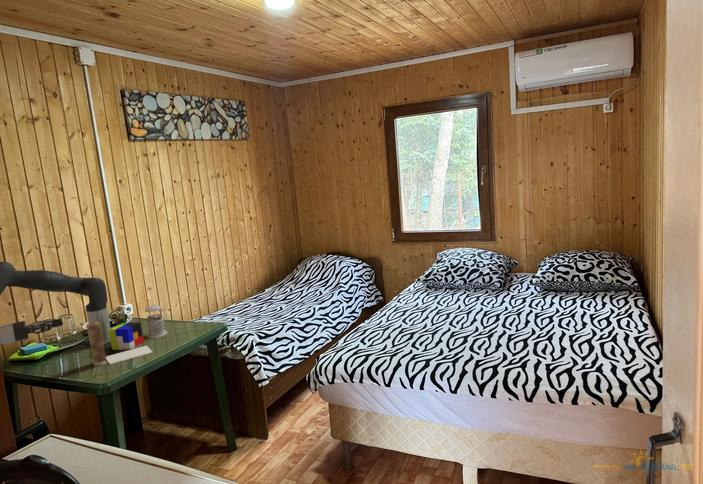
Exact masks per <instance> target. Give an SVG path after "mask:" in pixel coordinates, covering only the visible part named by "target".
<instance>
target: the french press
mask: <svg viewBox="0 0 703 484" xmlns="http://www.w3.org/2000/svg"><path fill="white" fill-rule="evenodd" d="M147 289H148V290H149V291H150V294H152V291H151V290H153V287H151V286H150V287H147ZM152 298H153V297H152V295H150V299H151V300H153V299H152ZM156 311H159V312H160V313H158V314H157V313H156V314H155V313H154V312H156ZM144 312H146V313H152V312H153V314H151V315H149V316H147V317H146V324H147V330H148V334H147V336H146V337H147V338H149V339H153V338H160V337H163V336H165V335H167V334H168V331H166V329H165V322H166V321H167V319H168V314H167V311H166V309H163V307H162V306H161V305H154V304H153V301H151V305H149V306H148V307H146V308H145V309H144ZM161 312H163V314H164V315H163V316H162V314H161ZM166 333H167V334H166Z"/></svg>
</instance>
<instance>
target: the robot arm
mask: <svg viewBox="0 0 703 484" xmlns="http://www.w3.org/2000/svg"><path fill="white" fill-rule="evenodd" d="M7 287H10V288H11V287H15V288H21V289H27V290H28V289H29V290H35V291H42V292H50V293H63V292H65V293H74V294H79V295H80V296H81V295H82V296H85V297H88V303H87V304H86V305H85V313H86V318H87V324H89V323H93V322H97V321H98V322H99V324H100V328H101V334H102V339H103V345H105V344H108V343H111V340H110V334H109V329H111V322H110V318H109V312H108V308H107V307H108V306H107V304H108V294H107V286H106V282H105V281H104V280H103V279H102V278H99V277H78V276H77V277H76V276H75V277H74V276H69V275H66V274H64V273H61V272H59V271H58V272H57V271H51V270H43V269H42V270H41V269H39V270H38V269H35V270H34V269H33V270H31V269H30V270H16V268H15V267H14V265H13V264H12V263H11V262H7V261H0V296H1V295H2V294H3V293H4V291H5V289H6V288H7ZM63 325H64V321H63V320H62V318H60V317H59V318H56V319H52V320H51V319H43V320H42V319H41V320H38V321H33V322H31V323H30V324H27V323H26V321H25V320H22V321H17V322H12V323H7V324H4V325H0V345H7V344H11V343H15V342H16V343H17V342H21V341H24V340H29V334H35V335H38V334H41V333H44V332H48V331H51V330H52V329H54V328H57V327H61V326H63Z"/></svg>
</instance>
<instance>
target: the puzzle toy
mask: <svg viewBox="0 0 703 484" xmlns="http://www.w3.org/2000/svg"><path fill="white" fill-rule="evenodd" d="M110 328H111V327H110ZM109 334H110V340H111V342H110V345H111V350H112V351H113V350H114V351H117V350H118V351H119V350H122V351H123V350H126V351H128V350H132V349H135V348H136V347H137V346H139V345H141V344H142V343H144V342H145V341H144V336H143V335H144V334H143V328H142V323H141V322H139V321H138V322H122V323H120V324H118V325H116V326H114V327H112V328H111V329H109Z"/></svg>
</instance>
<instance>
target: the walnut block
mask: <svg viewBox="0 0 703 484" xmlns="http://www.w3.org/2000/svg"><path fill="white" fill-rule="evenodd" d="M86 328H87V329H86V330H87V334H88V335H87V337H88V340H89V346H90V352H91V356H92V357H91V358H92V362H93V365H94V366H95V368H96V367H98V366H99V367H100V366H103V365H107V363H108V361H107V360H106V352H105V346H104V345H105V344H103V339H102V334H101V328H100V324H99V322H98V321H97V322H93V323H89V324H88V323H86Z"/></svg>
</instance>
